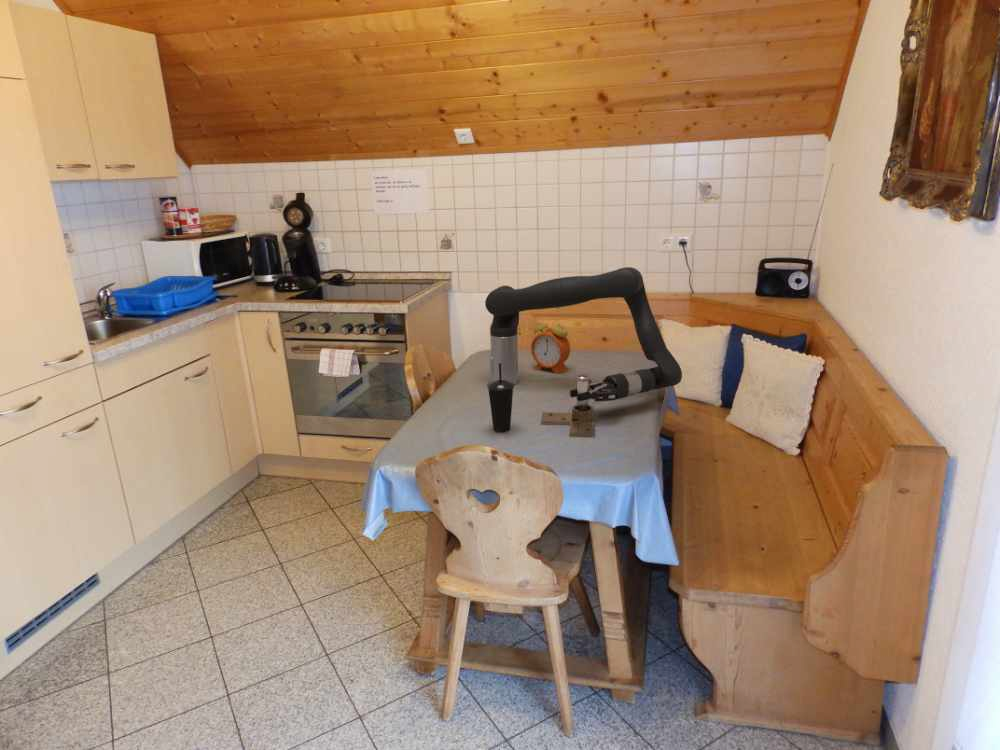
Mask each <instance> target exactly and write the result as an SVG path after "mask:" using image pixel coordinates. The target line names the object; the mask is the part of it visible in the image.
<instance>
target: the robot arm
mask: <svg viewBox="0 0 1000 750" xmlns="http://www.w3.org/2000/svg"><path fill="white" fill-rule="evenodd" d="M644 282H645V281H644V278H643V275H642V273H641V272H640V271H639V270H638V269H636V268H634V267H629V266H627V267H625V266H624V267H620V268H618V269H614V270H612V271H608V272H604V273H600V274H596V275H576V276H575V275H573V276H564V277H557V278H553V279H549V280H544V281H541V282H539V283H535V284H533V285H530V286H526V287H522V288H516V289H515V288H513V286H509V285H501V286H499V287H497V288H495V289H493V290H492V291H490V293H488V295H487V297H486V299H485V304H484V305H485V308H486V311H488V312H489V313H490V314H491V315H493V317H492V321H491V324H490V327H489V334H490V335H489V336H490V338H489V339H490V357H489V363H490V364H489V366H490V371H489V372H490V383H491V382H493V381H496V380H499V363H501V374H502V380H506V381H509V382H512V383H513V384H514V385H517V384H518V382H519V351H518V350H519V349H518V348H519V345H518V344H519V343H518V328H519V327H518V326H519V323H520V313H521V312H525V311H533V310H545V309H547V310H548V309H554V308H555V309H556V308H563V307H571V306H575V305H580V304H583V303H586V302H590V301H593V300H599V299H600V300H601V299H617V298H618V299H619V298H623V299H624V301H625V303H626V305H627V307H628V309H629V312H630V314H631V317H632V319H633V320H632V321H633V324H634V328H635V332H636V336H637V340H638V341H639V345H640V347H641V349H642V352H643V353H644V356H645V358H646V360H648V361H652V362H654V363H655V365H657V366H653V367H651V368H647V369H646V368H645V369H644V368H643V369H637V370H631V371H623V372H618V373H613V374H610V375H609V374H608V375H606V376H605V377H604V379H603V381H596V382H592V381H593V380H592V379H589V380H588V391H587V392H583V393H578V394H577V388H574V389H573V388H572V389H570V391H569V396H570V397H571V398H576V401H577V400H578V401H583V400H588V401H593V400H594V402H608V401H609V402H610V401H611V402H613V401H616V400H621V399H624V398H628V397H633V396H635V395H638V394H642V393H647V392H649V391H653V390H660V389H665V388H670V387H674V386H676V385H678V384H680V383H681V381H682V379H683V372H682V369H681V366H680V364H679V363H678V361H677V359H675V357H674V356H673V354H672V353H671V352H670V350H669V349H668V347H667V345H666V342H665V340H664V338H663V334H662V333H661V330H660V328H659V325H658V323H657V321H656V319H655V316H654V314H653V311H652V308H651V305H650V303H649V299H648V296H647V291H646V287H645V284H644Z"/></svg>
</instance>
